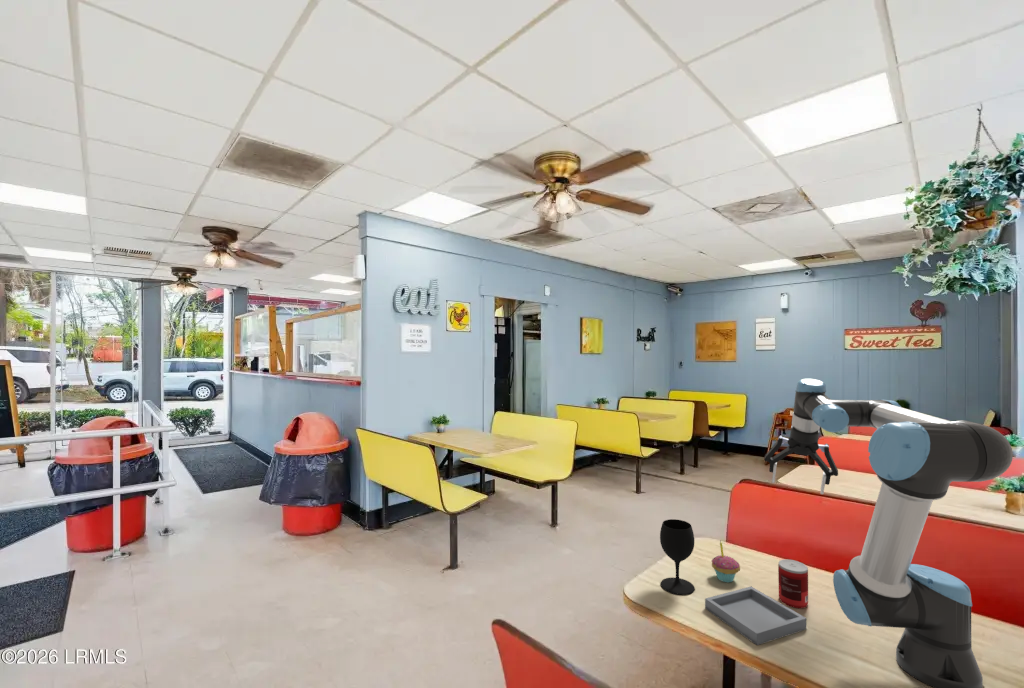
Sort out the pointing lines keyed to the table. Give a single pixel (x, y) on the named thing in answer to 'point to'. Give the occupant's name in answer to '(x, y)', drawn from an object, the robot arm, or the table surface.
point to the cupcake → (725, 567)
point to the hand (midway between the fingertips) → (797, 486)
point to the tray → (755, 615)
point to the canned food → (793, 583)
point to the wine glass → (677, 553)
